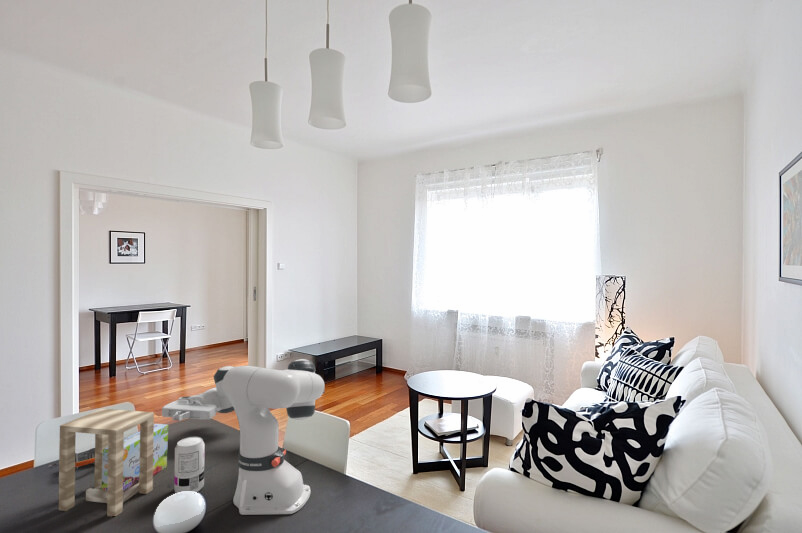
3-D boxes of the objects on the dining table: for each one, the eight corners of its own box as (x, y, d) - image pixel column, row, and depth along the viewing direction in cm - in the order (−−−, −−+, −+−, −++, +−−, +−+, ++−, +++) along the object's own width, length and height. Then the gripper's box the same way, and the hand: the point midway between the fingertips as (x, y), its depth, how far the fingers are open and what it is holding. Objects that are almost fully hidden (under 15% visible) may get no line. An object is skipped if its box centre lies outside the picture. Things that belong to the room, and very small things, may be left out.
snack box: (116, 501, 121) (117, 450, 121) (100, 499, 121) (100, 449, 121) (168, 466, 142) (169, 423, 141) (153, 465, 142) (154, 422, 142)
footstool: (154, 488, 128) (155, 411, 128) (115, 516, 113) (116, 430, 113) (103, 483, 130) (104, 407, 130) (58, 510, 116) (59, 425, 116)
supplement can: (168, 493, 125) (168, 444, 125) (190, 480, 133) (191, 434, 133) (187, 499, 122) (188, 449, 122) (209, 485, 130) (210, 438, 130)
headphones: (103, 441, 155) (121, 443, 143) (104, 455, 154) (122, 459, 142) (45, 457, 142) (59, 461, 130) (46, 473, 141) (60, 479, 129)
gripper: (223, 415, 164) (201, 428, 151) (176, 412, 167) (151, 424, 154) (223, 399, 164) (201, 411, 151) (177, 396, 167) (151, 408, 154)
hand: (175, 418), depth 152 cm, fingers closed
